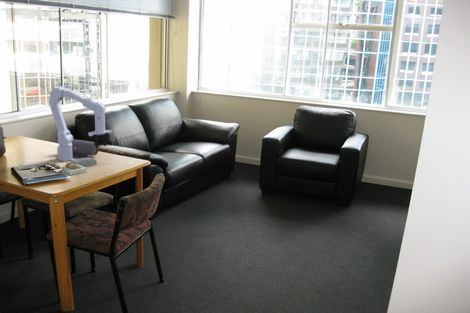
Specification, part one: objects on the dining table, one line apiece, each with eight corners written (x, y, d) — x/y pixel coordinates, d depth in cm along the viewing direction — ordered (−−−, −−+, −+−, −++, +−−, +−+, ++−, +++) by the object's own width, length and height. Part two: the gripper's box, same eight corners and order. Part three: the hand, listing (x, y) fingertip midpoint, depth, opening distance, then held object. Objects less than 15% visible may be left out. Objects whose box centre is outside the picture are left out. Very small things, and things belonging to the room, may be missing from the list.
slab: (70, 164, 269) (70, 159, 269) (90, 161, 277) (89, 157, 277) (77, 168, 263) (76, 163, 262) (96, 165, 271) (96, 160, 270)
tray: (61, 170, 255) (61, 166, 254) (77, 168, 262) (77, 164, 261) (70, 175, 248) (70, 170, 248) (86, 172, 255) (86, 168, 254)
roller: (68, 170, 256) (64, 165, 253) (73, 166, 257) (69, 160, 255) (73, 173, 252) (69, 168, 249) (78, 168, 254) (75, 163, 251)
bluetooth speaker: (59, 155, 287) (58, 139, 284) (67, 152, 296) (67, 137, 293) (91, 159, 282) (91, 143, 279) (99, 155, 291) (99, 140, 288)
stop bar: (47, 167, 260) (47, 162, 259) (50, 166, 261) (50, 161, 260) (57, 172, 252) (56, 167, 251) (60, 171, 253) (60, 166, 253)
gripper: (92, 126, 265) (93, 149, 268) (114, 124, 275) (114, 145, 278) (86, 124, 269) (87, 146, 273) (108, 122, 280) (108, 143, 283)
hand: (100, 146), depth 276 cm, fingers open, 5 cm apart
